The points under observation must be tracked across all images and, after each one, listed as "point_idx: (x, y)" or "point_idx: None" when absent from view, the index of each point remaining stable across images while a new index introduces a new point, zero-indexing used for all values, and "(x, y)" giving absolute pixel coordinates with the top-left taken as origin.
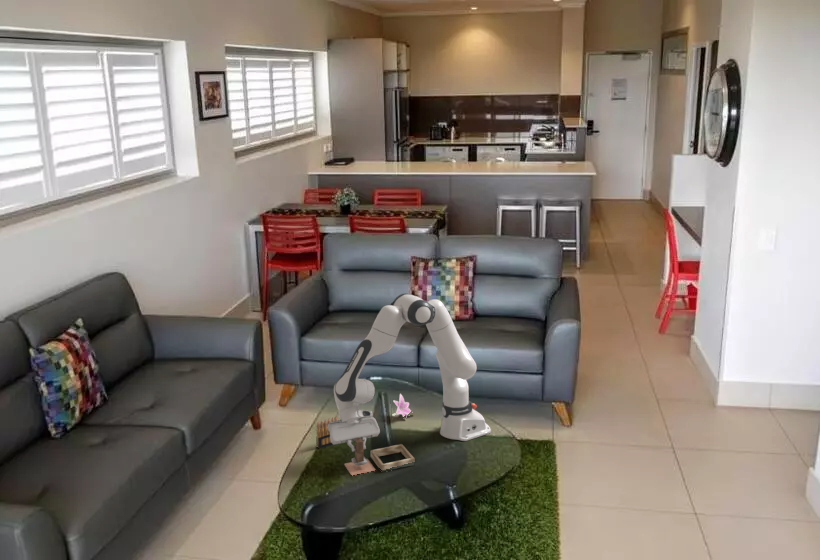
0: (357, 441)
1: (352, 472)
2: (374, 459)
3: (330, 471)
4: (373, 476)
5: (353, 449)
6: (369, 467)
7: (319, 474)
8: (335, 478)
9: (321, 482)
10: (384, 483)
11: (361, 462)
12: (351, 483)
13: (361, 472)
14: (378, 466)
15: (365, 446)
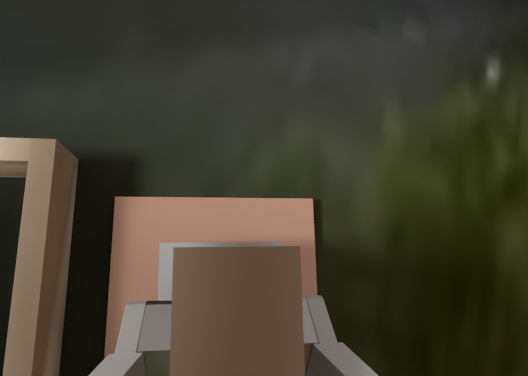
0: (276, 303)
1: (298, 231)
2: (50, 358)
3: (438, 333)
4: (166, 131)
5: (316, 298)
6: (147, 255)
7: (515, 319)
8: (421, 217)
9: (511, 205)
10: (132, 15)
11: (219, 244)
12: (336, 111)
13: (234, 204)
14: (67, 246)
15: (125, 313)
